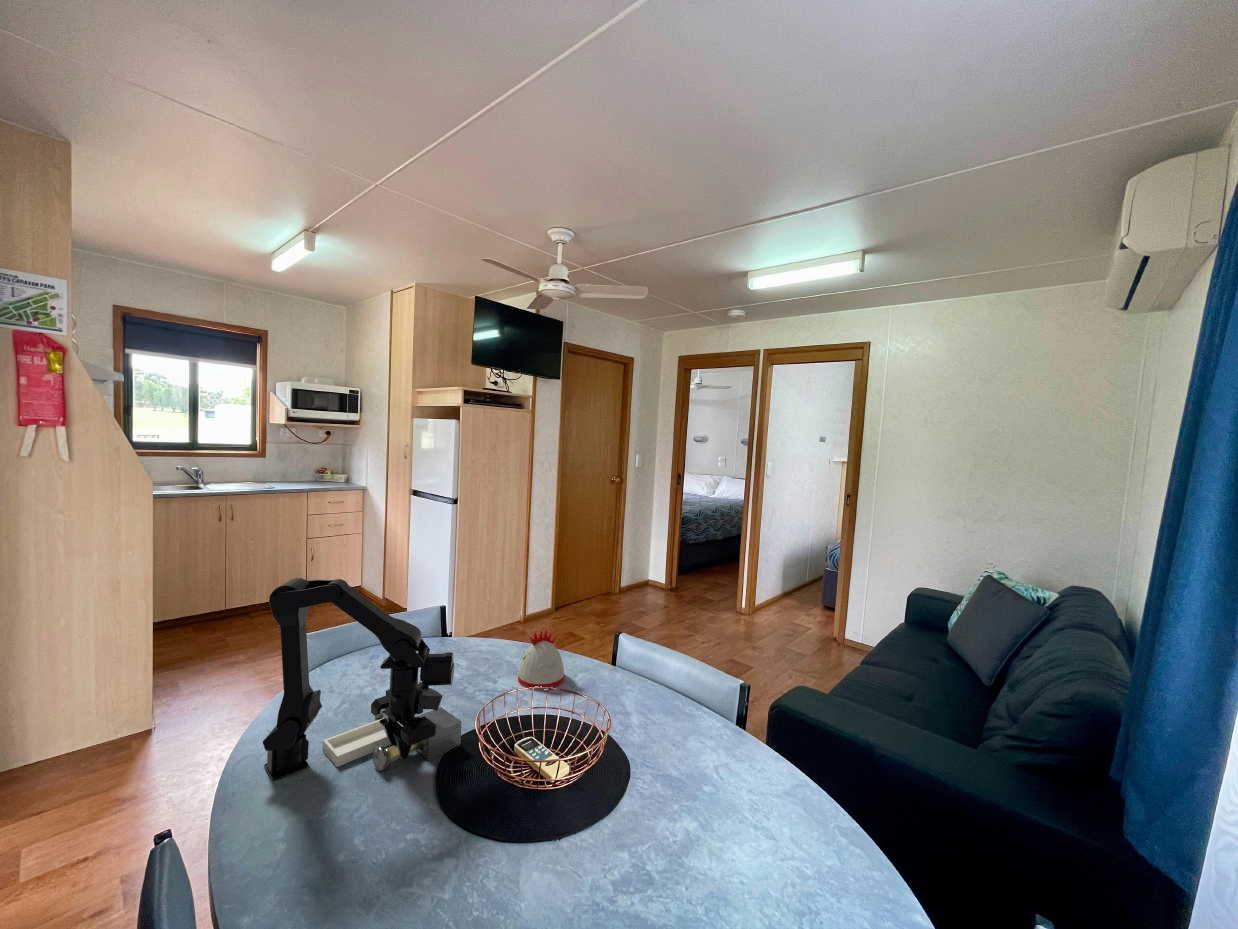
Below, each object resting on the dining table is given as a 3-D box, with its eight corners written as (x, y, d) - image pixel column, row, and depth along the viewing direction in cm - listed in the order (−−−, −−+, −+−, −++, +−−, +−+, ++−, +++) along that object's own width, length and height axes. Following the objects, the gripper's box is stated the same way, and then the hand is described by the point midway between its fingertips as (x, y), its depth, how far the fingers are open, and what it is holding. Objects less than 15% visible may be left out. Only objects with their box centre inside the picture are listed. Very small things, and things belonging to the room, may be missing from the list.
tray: (337, 767, 108) (337, 756, 108) (322, 750, 113) (323, 740, 113) (414, 735, 121) (414, 725, 121) (398, 721, 126) (398, 712, 126)
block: (428, 761, 111) (429, 735, 111) (408, 743, 117) (409, 719, 117) (460, 746, 118) (461, 721, 117) (440, 730, 123) (441, 707, 123)
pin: (381, 775, 106) (382, 753, 106) (372, 765, 109) (373, 744, 109) (439, 749, 116) (440, 729, 116) (429, 740, 119) (430, 721, 119)
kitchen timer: (513, 672, 157) (515, 624, 157) (555, 666, 163) (557, 620, 162) (524, 693, 144) (527, 641, 144) (570, 685, 150) (572, 636, 150)
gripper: (460, 688, 111) (456, 758, 111) (417, 661, 123) (415, 724, 123) (411, 706, 102) (407, 781, 103) (371, 675, 115) (368, 743, 115)
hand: (401, 755), depth 111 cm, fingers closed on pin, 3 cm apart
